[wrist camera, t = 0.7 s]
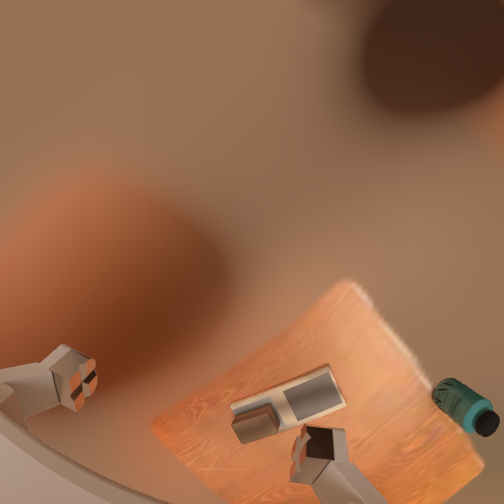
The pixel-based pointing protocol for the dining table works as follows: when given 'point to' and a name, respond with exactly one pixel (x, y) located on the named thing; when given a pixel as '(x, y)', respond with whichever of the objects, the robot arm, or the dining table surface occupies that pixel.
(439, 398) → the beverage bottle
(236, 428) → the block
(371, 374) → the dining table surface
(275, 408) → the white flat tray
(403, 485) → the dining table surface
